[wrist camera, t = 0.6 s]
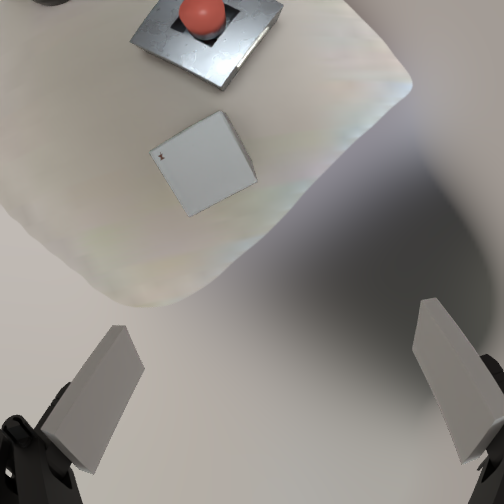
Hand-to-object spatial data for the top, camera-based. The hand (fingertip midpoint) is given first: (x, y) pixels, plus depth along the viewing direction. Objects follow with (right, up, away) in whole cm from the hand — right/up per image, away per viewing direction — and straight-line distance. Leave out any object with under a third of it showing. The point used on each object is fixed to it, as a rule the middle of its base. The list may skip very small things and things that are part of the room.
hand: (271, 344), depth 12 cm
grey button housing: (-6, +31, +17) cm, 36 cm away
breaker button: (-6, +29, +13) cm, 33 cm away
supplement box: (-6, +17, +24) cm, 30 cm away
